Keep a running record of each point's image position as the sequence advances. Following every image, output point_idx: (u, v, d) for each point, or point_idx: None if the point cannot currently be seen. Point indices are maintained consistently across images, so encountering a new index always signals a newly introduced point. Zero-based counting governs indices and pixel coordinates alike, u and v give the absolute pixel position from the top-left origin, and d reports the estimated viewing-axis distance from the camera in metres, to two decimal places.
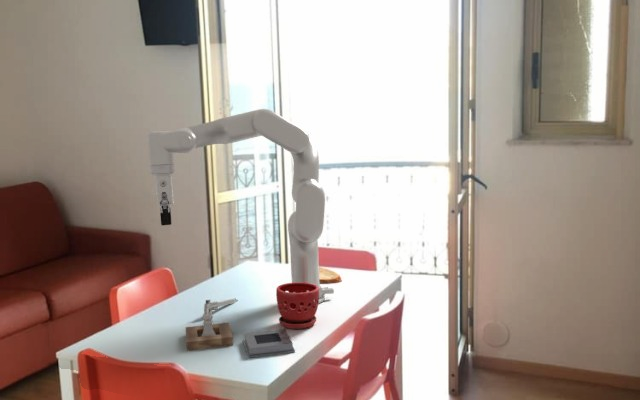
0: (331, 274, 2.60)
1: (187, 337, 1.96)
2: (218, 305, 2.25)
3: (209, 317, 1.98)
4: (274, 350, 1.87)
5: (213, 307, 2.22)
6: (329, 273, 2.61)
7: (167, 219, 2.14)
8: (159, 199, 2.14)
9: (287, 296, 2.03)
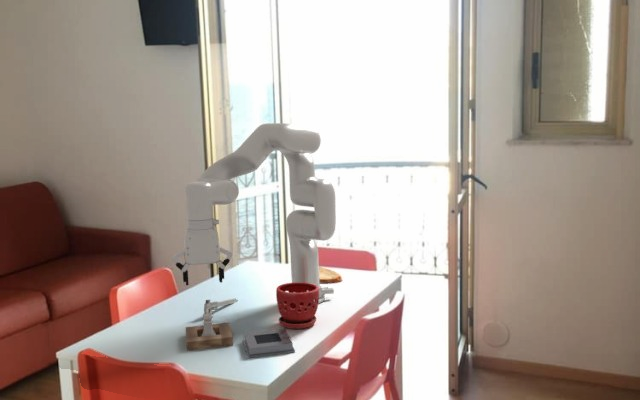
0: (331, 274, 2.60)
1: (187, 337, 1.96)
2: (218, 305, 2.25)
3: (209, 317, 1.98)
4: (274, 350, 1.87)
5: (213, 307, 2.23)
6: (329, 273, 2.61)
7: None
8: None
9: (287, 296, 2.03)
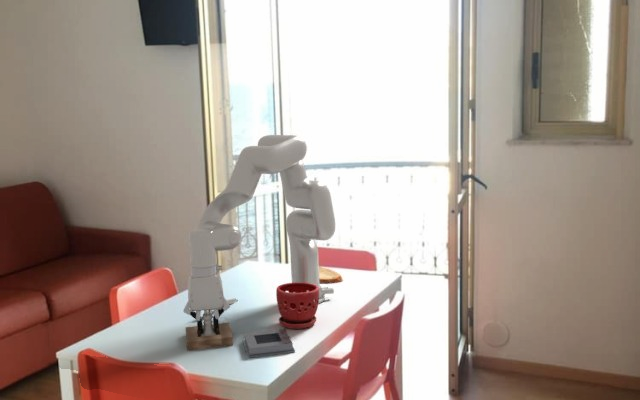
0: (332, 274, 2.60)
1: (187, 337, 1.96)
2: None
3: (209, 317, 1.98)
4: (274, 350, 1.87)
5: None
6: (330, 273, 2.61)
7: None
8: None
9: (287, 296, 2.03)
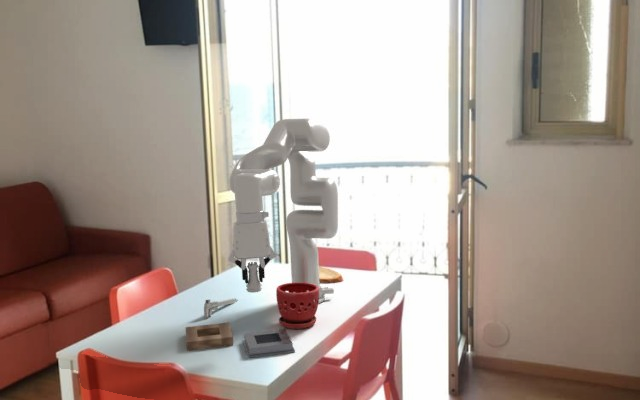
0: (332, 274, 2.60)
1: (187, 337, 1.96)
2: (218, 305, 2.26)
3: (255, 266, 1.90)
4: (274, 350, 1.87)
5: (213, 307, 2.23)
6: (330, 273, 2.61)
7: None
8: None
9: (287, 296, 2.03)
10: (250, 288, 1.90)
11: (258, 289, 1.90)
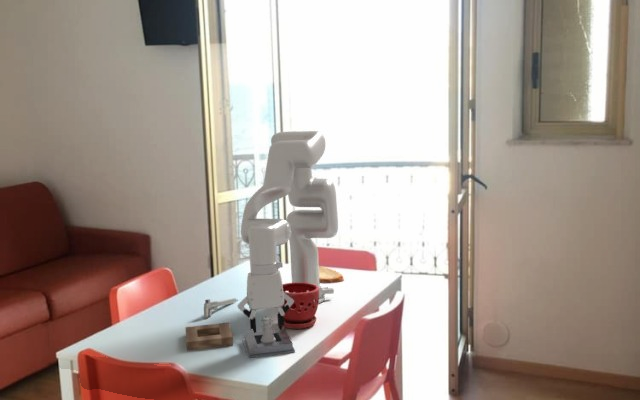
0: (333, 273, 2.60)
1: (187, 337, 1.96)
2: (218, 305, 2.26)
3: (269, 321, 1.91)
4: (274, 350, 1.87)
5: (213, 307, 2.23)
6: (331, 273, 2.61)
7: None
8: None
9: None
10: None
11: None
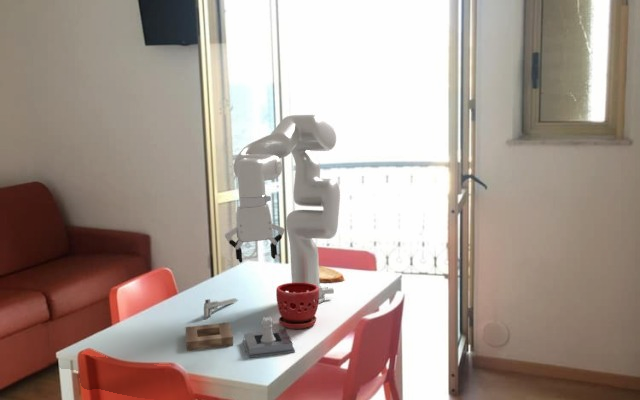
0: (334, 273, 2.60)
1: (187, 337, 1.96)
2: (218, 305, 2.26)
3: (269, 321, 1.91)
4: (274, 350, 1.87)
5: (213, 307, 2.23)
6: (331, 272, 2.62)
7: None
8: (272, 231, 1.96)
9: (287, 296, 2.03)
10: None
11: None
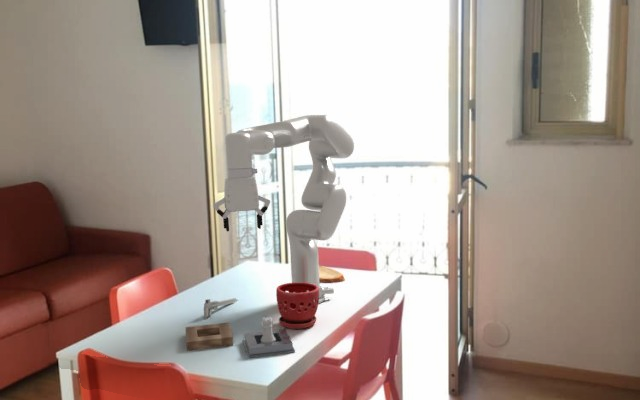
0: (334, 273, 2.61)
1: (187, 337, 1.96)
2: (218, 305, 2.26)
3: (269, 321, 1.91)
4: (274, 350, 1.87)
5: (213, 307, 2.23)
6: (332, 272, 2.62)
7: None
8: (258, 202, 2.06)
9: (287, 296, 2.03)
10: None
11: None
